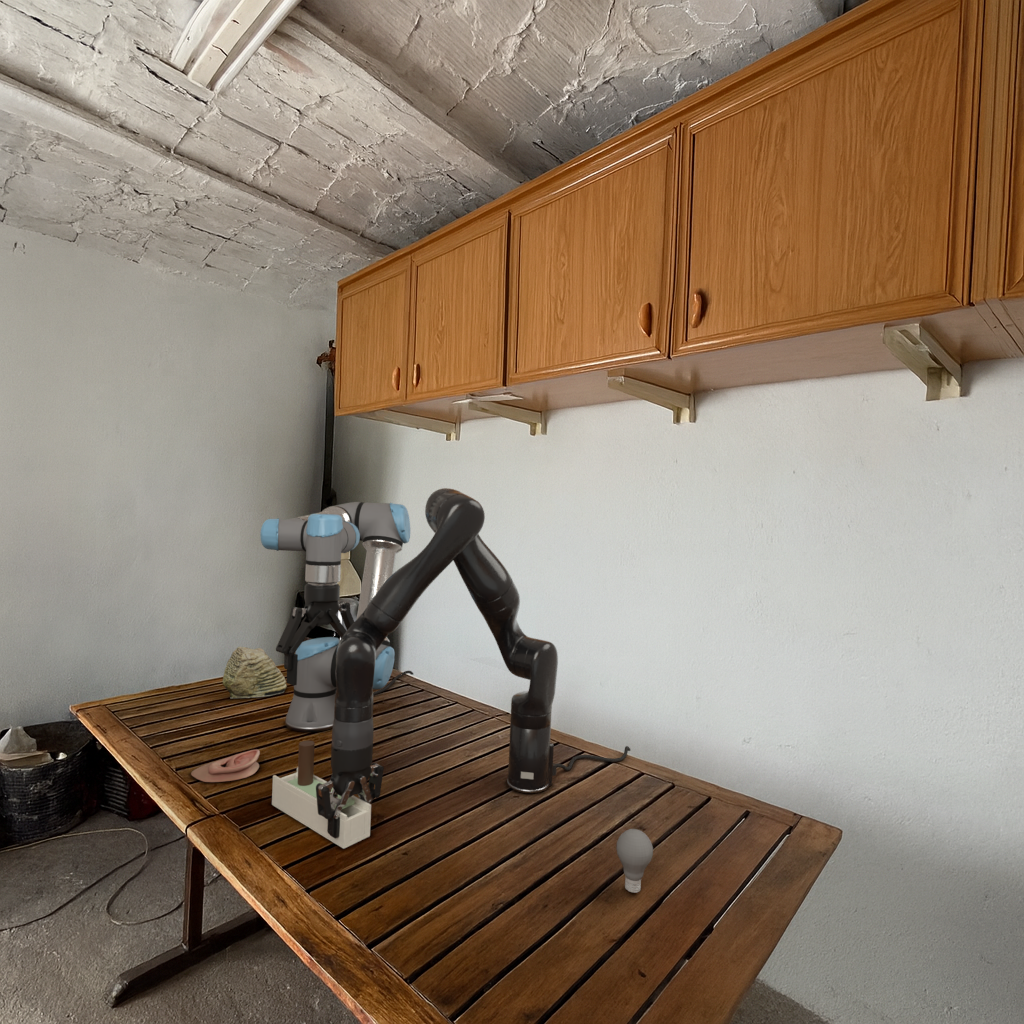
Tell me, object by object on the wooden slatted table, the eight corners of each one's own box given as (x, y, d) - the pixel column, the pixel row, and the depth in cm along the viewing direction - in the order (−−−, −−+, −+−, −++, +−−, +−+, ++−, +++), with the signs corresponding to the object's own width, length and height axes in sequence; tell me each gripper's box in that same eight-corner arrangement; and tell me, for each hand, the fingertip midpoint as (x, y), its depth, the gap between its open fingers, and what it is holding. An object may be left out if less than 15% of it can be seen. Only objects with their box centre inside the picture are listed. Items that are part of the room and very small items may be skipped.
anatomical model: (182, 760, 139) (216, 741, 150) (181, 778, 139) (216, 758, 150) (236, 768, 136) (267, 748, 147) (235, 786, 136) (266, 765, 147)
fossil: (218, 695, 195) (220, 647, 195) (278, 685, 208) (279, 640, 207) (228, 703, 189) (230, 653, 188) (289, 692, 201) (290, 645, 201)
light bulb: (610, 879, 108) (613, 822, 108) (644, 879, 109) (647, 822, 109) (619, 902, 102) (622, 840, 102) (655, 901, 103) (658, 840, 103)
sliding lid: (287, 785, 128) (288, 742, 127) (306, 778, 131) (307, 736, 131) (335, 812, 118) (336, 765, 117) (354, 804, 121) (356, 758, 121)
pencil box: (271, 804, 130) (272, 775, 129) (297, 794, 134) (298, 766, 134) (343, 849, 115) (344, 816, 114) (370, 836, 119) (371, 804, 119)
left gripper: (357, 577, 153) (354, 665, 153) (261, 585, 134) (257, 685, 134) (377, 581, 148) (374, 671, 149) (280, 589, 129) (276, 693, 129)
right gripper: (370, 725, 126) (367, 809, 126) (307, 745, 115) (303, 837, 115) (395, 735, 121) (392, 822, 122) (332, 757, 110) (328, 852, 110)
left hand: (318, 678), depth 141 cm, fingers open, 13 cm apart
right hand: (349, 829), depth 118 cm, fingers closed on pencil box, 6 cm apart
